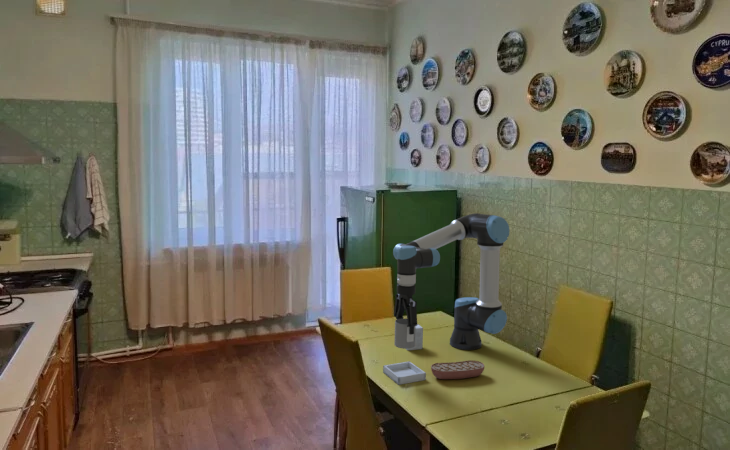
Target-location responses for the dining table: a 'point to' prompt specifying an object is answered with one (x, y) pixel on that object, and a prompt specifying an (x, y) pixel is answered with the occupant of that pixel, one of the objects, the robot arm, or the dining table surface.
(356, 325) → the dining table surface
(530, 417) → the dining table surface
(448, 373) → the mitochondrion model
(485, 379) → the dining table surface
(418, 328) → the small box
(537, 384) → the dining table surface
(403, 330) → the cup
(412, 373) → the grey tray
